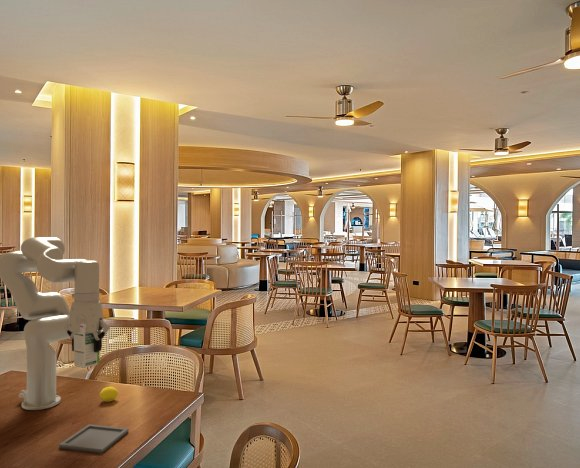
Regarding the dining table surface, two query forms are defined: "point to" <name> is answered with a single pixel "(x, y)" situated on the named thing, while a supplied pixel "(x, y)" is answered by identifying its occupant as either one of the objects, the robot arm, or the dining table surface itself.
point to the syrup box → (84, 349)
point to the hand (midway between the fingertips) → (86, 350)
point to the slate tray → (94, 438)
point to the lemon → (108, 394)
